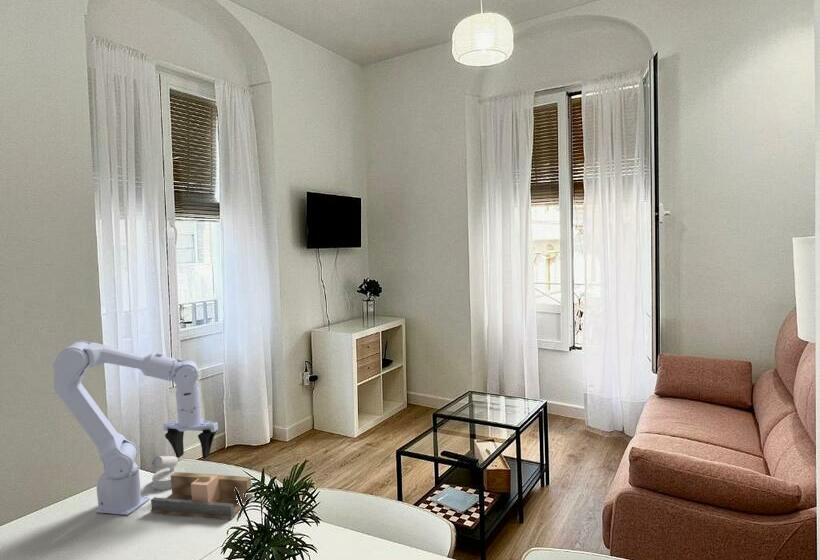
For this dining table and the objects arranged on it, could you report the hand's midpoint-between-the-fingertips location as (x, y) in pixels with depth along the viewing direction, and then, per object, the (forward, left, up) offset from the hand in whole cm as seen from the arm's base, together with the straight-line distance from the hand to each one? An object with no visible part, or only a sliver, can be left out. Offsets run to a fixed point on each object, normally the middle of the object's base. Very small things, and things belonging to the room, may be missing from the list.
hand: (193, 456), depth 136 cm
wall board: (+6, -6, -10) cm, 13 cm away
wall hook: (-11, +3, -10) cm, 15 cm away
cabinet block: (+7, -6, -9) cm, 13 cm away
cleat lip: (+6, -10, -9) cm, 15 cm away
